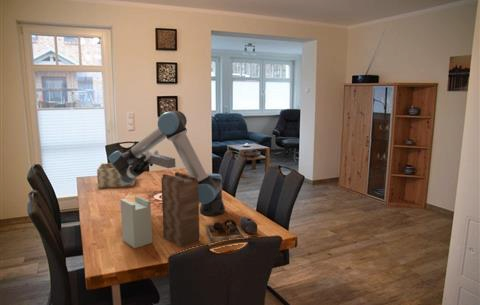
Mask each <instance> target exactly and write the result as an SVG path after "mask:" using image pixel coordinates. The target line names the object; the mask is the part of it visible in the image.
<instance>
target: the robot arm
mask: <svg viewBox="0 0 480 305" xmlns="http://www.w3.org/2000/svg"><path fill="white" fill-rule="evenodd" d="M187 122H188V120H187V117H186V115H185V114H184V113H183V112H182V111H180V110H172V111H170V110H169V111H166V112H164V113H162V114H161V115H159V117H158V119H157V128H156V129H155V130H153V131H152V132H151V133H149V134H148V135H146V137H144V138H143V139H141V140H140V141H139V142H138V143H136V144H135V145H134V146H132V147H131V148H129V149H128V150H127V151H125V152H121V151H120V150H116V151H114V152H112V153H111V154H110V155H109V156H108V161H109V163H112V165H113V166H114V167H115V169H116V170H117V171H118V172H119V174H120V175H121V176H120V180H121V182H122V183H124V184H130V183H132V182H133V181H134V180H135V179H136V180H137V178H139V177H140V176H141V175H142V174H143V173H144V172H145V170H146V168H147V167H153V165H154V164H152V163H148V162H145V161H146V160H147V159H148V158H150V157H151V156H150V153H151V152H150V151H151V150H152V149H154V148H155V147H156V146H157V145H159V144H160V143H162V142H163V141H165V140H166V139H167V141H170V142H171V143H172V144H173V146H174V148H175V150H176V153H177V154H178V156H179V158H180V160H181V162H182V164H183V166H184V168H185V170H186V171H187V175H190V176H194V177H197V180H198V193H199V204H200V205H199V214H201V215H204V216H208V217H213V216H214V217H215V216H221V215H222V214H224V213H226V206H225V203H224V200H223V177H222V175H221V174H220V173H207V172H206V171H205V169H204V167H203V165H202V162H201V161H200V158H199V157H198V156H197V155H198V154H197V152H196V151H195V149H194V147H193V145H192V144H191V142H190V140H189V138H188V137H189V136H188V135H187V132H188V129H187V128H186V126H187ZM146 152H147V153H146ZM141 153H146V154H145V155H144V156H142V157H141ZM153 153H154V154H158V155H160V154H159V150H155V151H154V152H153Z"/></svg>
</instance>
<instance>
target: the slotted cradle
mask: <svg viewBox="0 0 480 305" xmlns="http://www.w3.org/2000/svg"><path fill="white" fill-rule="evenodd" d="M119 202H120V214H121V215H120V216H121V217H120V218H121V231H122V232H121V233H122V234H121V235H122V242H124V243H126V244H127V245H128V246H131V247H132V248H133V249H137V248H140V247H143V246H146V245H148V244H152V243H153V234H152V233H153V232H152V231H153V230H152V210H151V201H150V200H148V199H146V198H144V197H142V196H139V195H135V196H134V201H129V200H127V199H125V198H122V199H120V201H119Z"/></svg>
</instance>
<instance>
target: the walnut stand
mask: <svg viewBox="0 0 480 305" xmlns="http://www.w3.org/2000/svg"><path fill="white" fill-rule="evenodd" d="M160 181H161V182H160V183H161V203H162V204H161V206H162V228H163V238H165V239H166V240H168V241H170V242H171V243H174V244H176V245H177V246H179V247H181V248H184V247H186V246H187V247H188V246H189V245H192V244H195V243H198V242H200V240H201V239H200V203H199V193H198V180H197V177H194V176H190V175H189V174H188V173H183V172H179V171H175V172H174V174H173V175H169V174H167V173H166V174H162V177H161V180H160Z"/></svg>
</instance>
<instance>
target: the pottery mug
mask: <svg viewBox="0 0 480 305" xmlns="http://www.w3.org/2000/svg"><path fill="white" fill-rule="evenodd" d="M227 223H232V224H234V225H235V228H234V229H229V226H226V224H227ZM212 225H213V227H214V229H215V230H216V231H215V232H217V233H218V234H220V232H221V231H224V232H225V236H233V235H235V234H236V233H237V232H236V231H237V226H238V224H237V223H236V221H235V220H233V219H230V218H228V219H224V220H223V221H222V222H214V224H212ZM216 226H218V228H217V227H216ZM223 229H224V230H223Z"/></svg>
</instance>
